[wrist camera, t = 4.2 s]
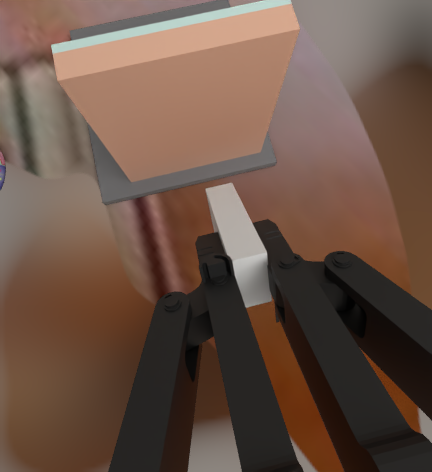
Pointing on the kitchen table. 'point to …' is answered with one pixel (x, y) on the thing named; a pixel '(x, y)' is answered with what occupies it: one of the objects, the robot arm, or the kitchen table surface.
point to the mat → (122, 189)
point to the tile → (182, 86)
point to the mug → (2, 169)
